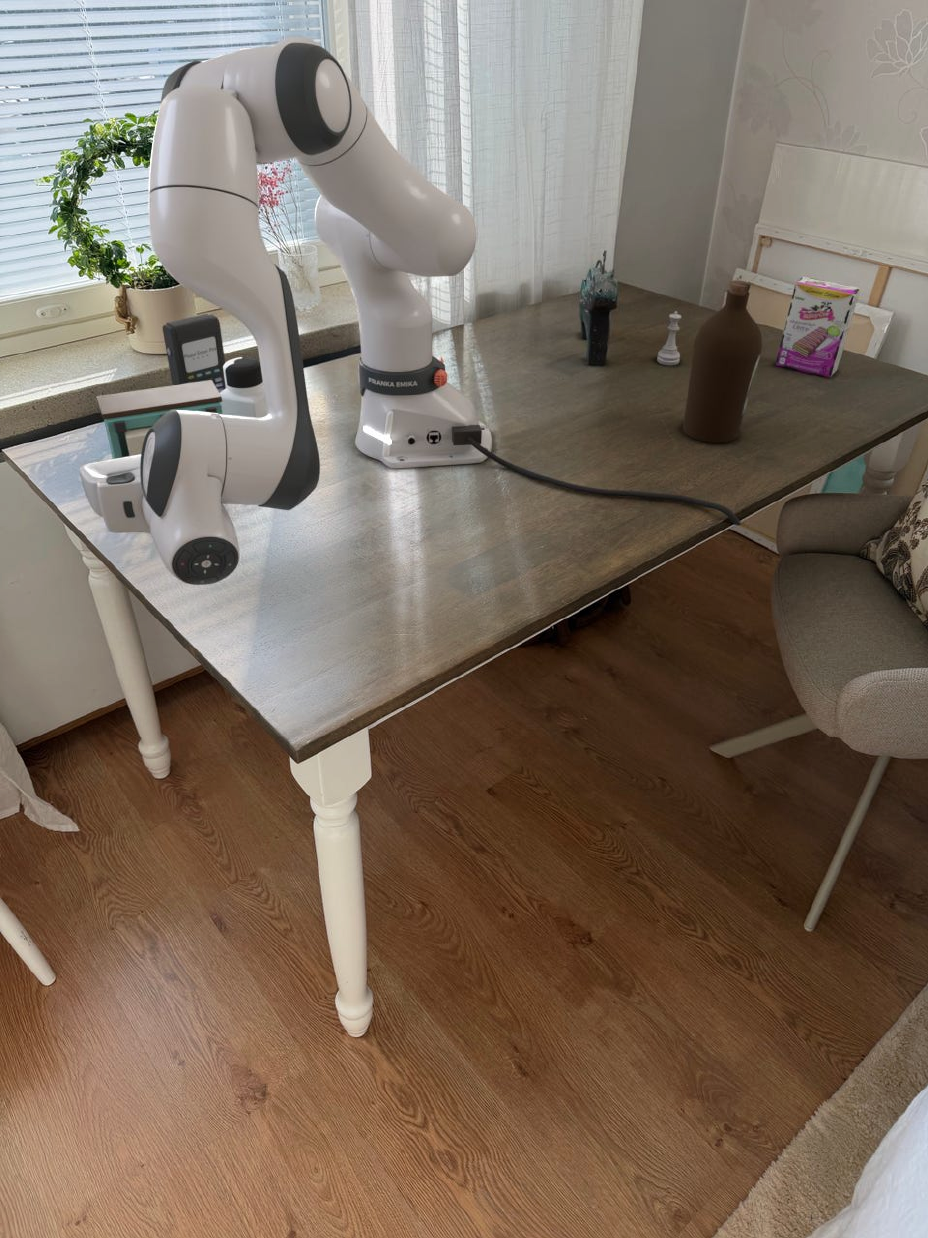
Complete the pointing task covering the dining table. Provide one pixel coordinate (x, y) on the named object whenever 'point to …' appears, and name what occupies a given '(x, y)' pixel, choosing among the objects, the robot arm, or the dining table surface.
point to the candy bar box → (817, 326)
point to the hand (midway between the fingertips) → (157, 446)
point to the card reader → (195, 350)
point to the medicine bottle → (243, 388)
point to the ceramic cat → (597, 311)
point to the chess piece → (670, 343)
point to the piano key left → (136, 439)
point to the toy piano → (152, 408)
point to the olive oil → (723, 370)
